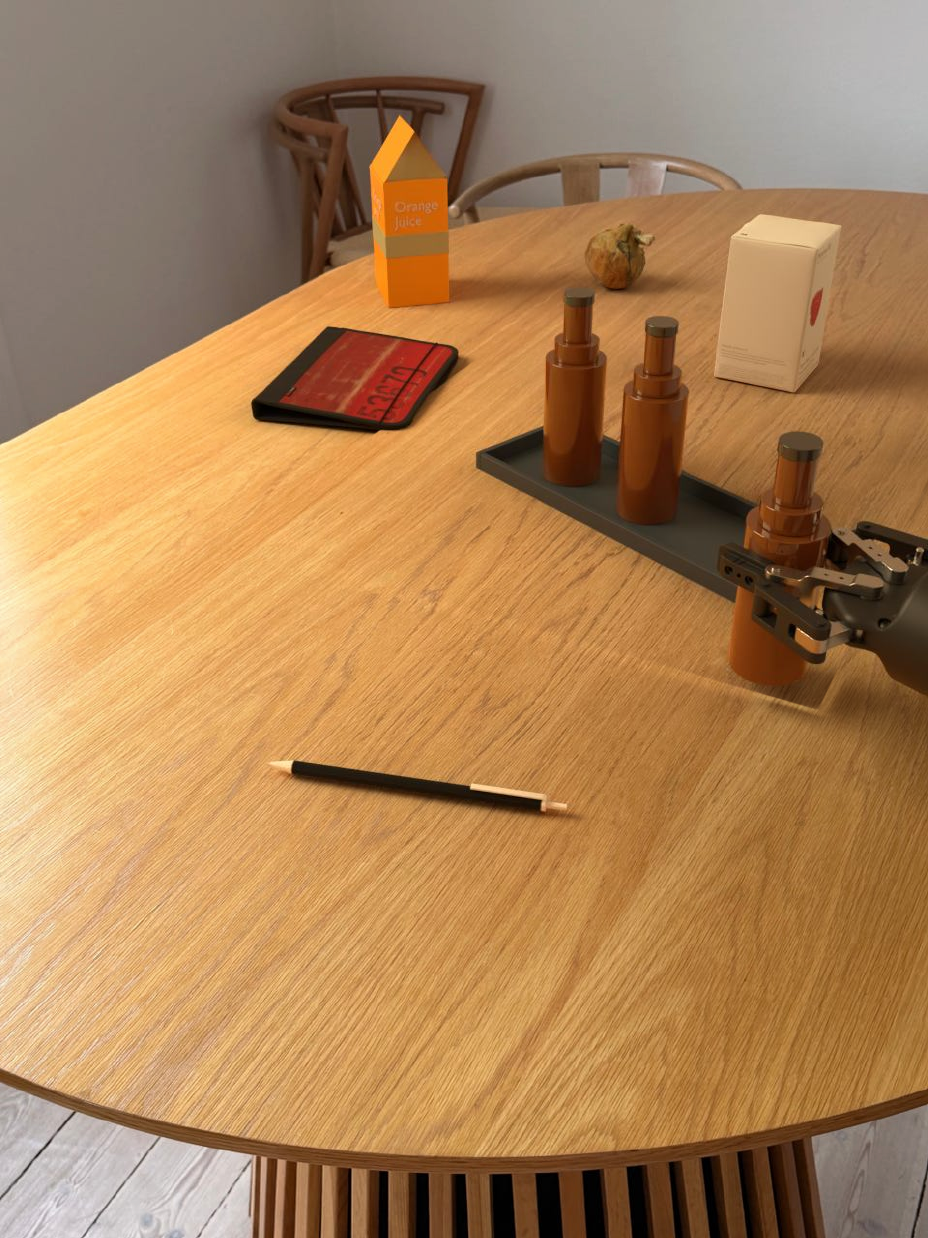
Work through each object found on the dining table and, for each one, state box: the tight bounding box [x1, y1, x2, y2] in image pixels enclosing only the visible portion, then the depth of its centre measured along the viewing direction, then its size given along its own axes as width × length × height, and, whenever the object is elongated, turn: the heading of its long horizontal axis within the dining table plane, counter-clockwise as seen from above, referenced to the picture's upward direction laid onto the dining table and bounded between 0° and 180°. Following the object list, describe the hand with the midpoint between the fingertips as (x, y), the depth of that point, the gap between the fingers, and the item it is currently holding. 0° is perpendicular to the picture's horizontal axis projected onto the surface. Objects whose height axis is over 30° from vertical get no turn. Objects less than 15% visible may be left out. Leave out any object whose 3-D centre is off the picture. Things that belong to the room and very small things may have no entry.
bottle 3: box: [727, 430, 832, 687], centre depth 77 cm, size 5×5×17 cm
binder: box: [250, 325, 460, 431], centre depth 126 cm, size 16×2×21 cm
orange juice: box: [368, 115, 450, 309], centre depth 144 cm, size 8×9×20 cm
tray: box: [475, 425, 830, 604], centre depth 103 cm, size 31×11×2 cm, turn 41°
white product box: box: [713, 213, 842, 393], centre depth 124 cm, size 9×9×15 cm
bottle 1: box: [542, 286, 608, 487], centre depth 104 cm, size 5×5×17 cm
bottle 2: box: [615, 315, 690, 525], centre depth 98 cm, size 5×5×17 cm
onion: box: [583, 222, 656, 290], centre depth 149 cm, size 8×8×8 cm
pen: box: [266, 759, 569, 812], centre depth 75 cm, size 1×19×1 cm, turn 77°
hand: (751, 540), depth 79 cm, fingers closed on bottle 3, 5 cm apart
